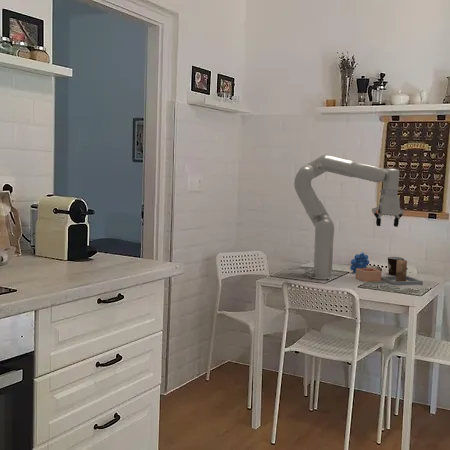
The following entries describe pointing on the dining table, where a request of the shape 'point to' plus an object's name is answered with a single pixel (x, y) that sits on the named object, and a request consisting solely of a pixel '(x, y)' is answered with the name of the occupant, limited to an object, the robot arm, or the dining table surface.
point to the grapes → (359, 262)
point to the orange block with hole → (368, 274)
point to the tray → (410, 281)
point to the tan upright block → (401, 270)
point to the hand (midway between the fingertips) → (387, 226)
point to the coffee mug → (393, 264)
